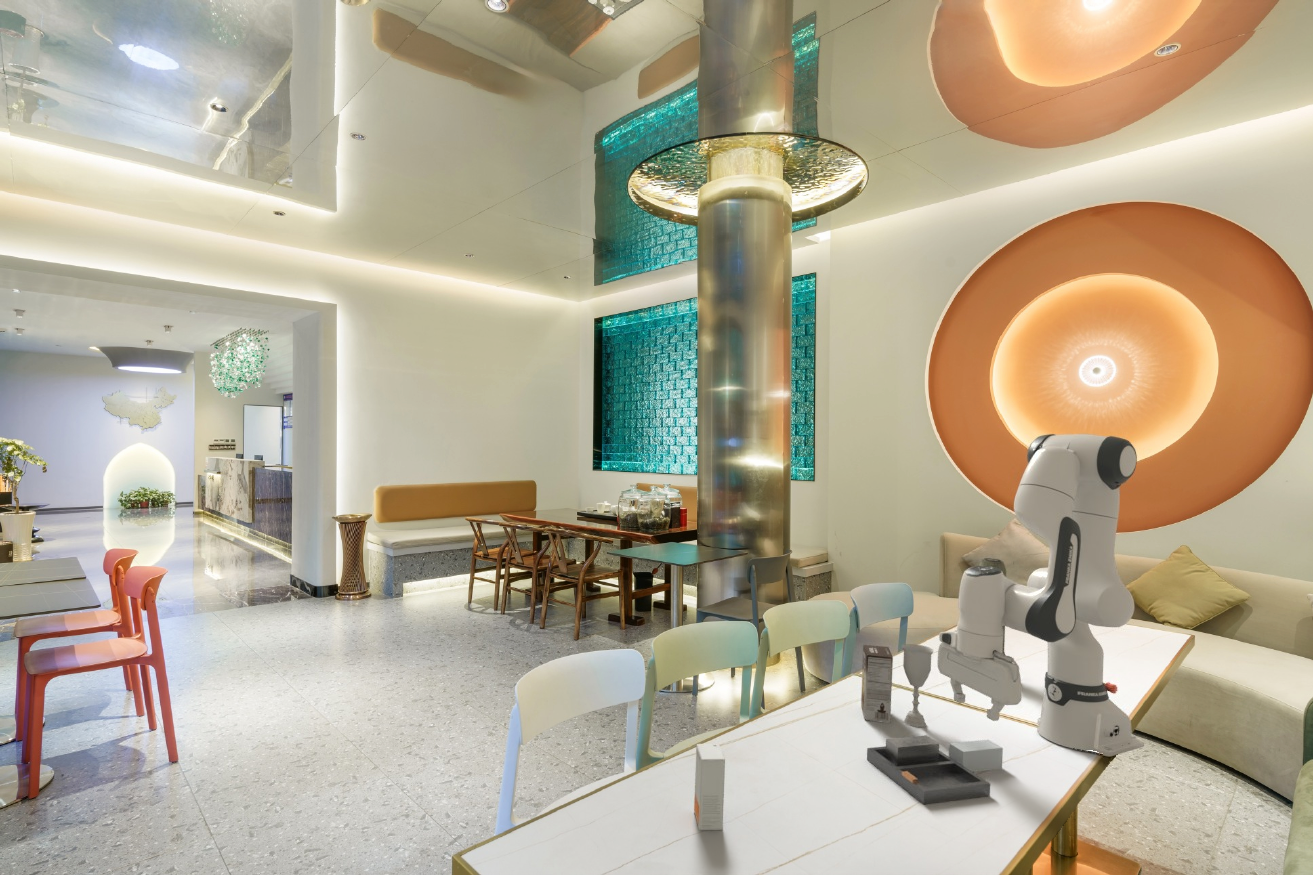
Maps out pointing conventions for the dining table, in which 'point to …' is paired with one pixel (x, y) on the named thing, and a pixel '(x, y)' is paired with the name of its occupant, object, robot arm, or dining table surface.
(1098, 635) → the dining table surface
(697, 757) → the skincare box
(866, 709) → the coffee box
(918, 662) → the chalice
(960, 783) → the tray
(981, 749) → the pale grey rectangular block
